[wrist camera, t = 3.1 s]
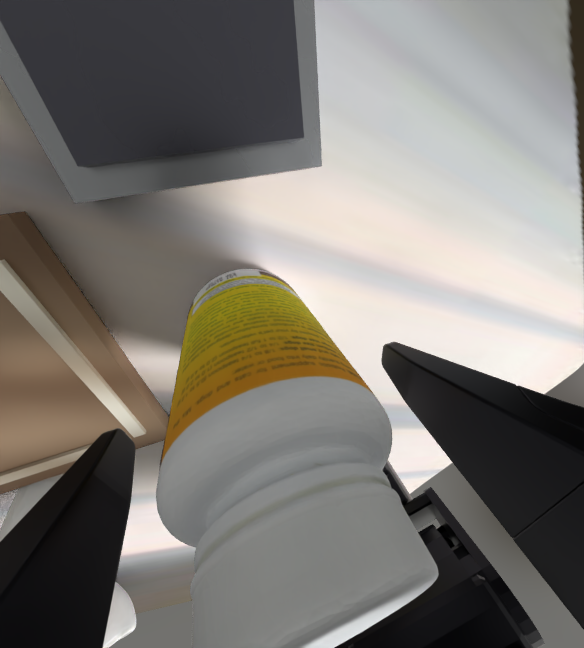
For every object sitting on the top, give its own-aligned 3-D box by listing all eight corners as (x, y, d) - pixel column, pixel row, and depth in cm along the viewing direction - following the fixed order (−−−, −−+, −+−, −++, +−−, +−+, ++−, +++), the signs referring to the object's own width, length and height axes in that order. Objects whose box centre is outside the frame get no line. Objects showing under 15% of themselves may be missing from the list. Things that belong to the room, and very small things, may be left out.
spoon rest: (137, 593, 25) (114, 716, 19) (-19, 633, 20) (-114, 817, 14) (182, 460, 16) (164, 615, 10) (-77, 472, 11) (-394, 787, 5)
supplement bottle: (163, 293, 10) (-92, 845, 2) (278, 246, 10) (548, 491, 2) (222, 375, 13) (238, 705, 5) (309, 336, 14) (464, 578, 5)
